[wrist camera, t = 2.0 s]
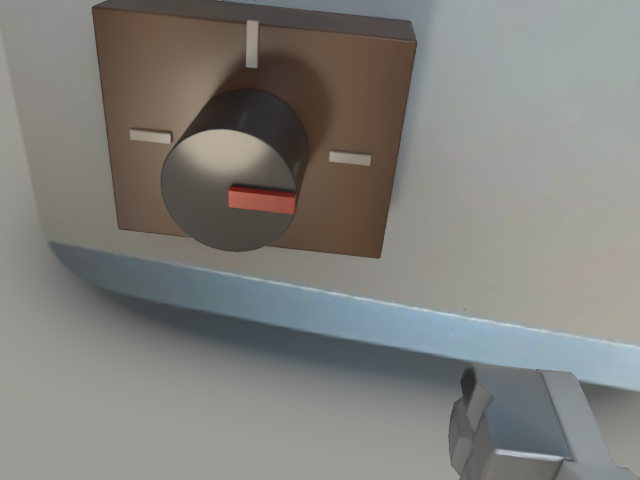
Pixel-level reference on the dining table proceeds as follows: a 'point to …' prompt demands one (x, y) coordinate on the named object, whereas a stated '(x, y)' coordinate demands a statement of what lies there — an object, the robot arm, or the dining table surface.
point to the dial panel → (267, 76)
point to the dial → (237, 171)
